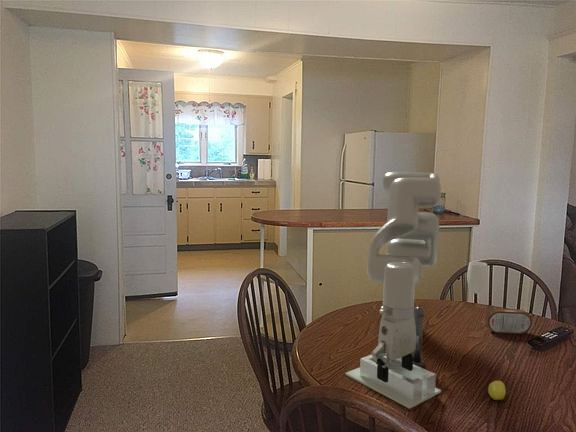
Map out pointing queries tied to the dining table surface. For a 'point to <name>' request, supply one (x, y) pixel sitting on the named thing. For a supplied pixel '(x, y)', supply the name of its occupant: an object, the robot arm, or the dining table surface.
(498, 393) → the lemon
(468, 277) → the cup
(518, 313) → the tin
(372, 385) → the mat
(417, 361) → the stand
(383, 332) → the robot arm
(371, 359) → the c link
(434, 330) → the dining table surface
